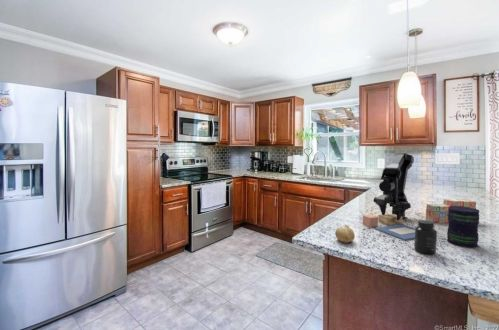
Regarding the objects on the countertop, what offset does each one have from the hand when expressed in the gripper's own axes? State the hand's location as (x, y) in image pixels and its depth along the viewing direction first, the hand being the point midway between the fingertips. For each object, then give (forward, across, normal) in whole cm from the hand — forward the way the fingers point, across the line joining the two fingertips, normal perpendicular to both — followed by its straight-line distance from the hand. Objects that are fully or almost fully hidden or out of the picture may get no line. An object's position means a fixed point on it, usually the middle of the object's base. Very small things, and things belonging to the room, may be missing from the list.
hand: (390, 217), depth 128 cm
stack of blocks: (+3, +9, +32) cm, 34 cm away
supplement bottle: (+3, +33, -20) cm, 39 cm away
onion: (+3, +14, -42) cm, 44 cm away
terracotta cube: (+3, 0, -14) cm, 14 cm away
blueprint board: (+3, +14, -8) cm, 16 cm away
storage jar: (+3, +32, +3) cm, 32 cm away
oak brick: (+3, 0, 0) cm, 3 cm away
